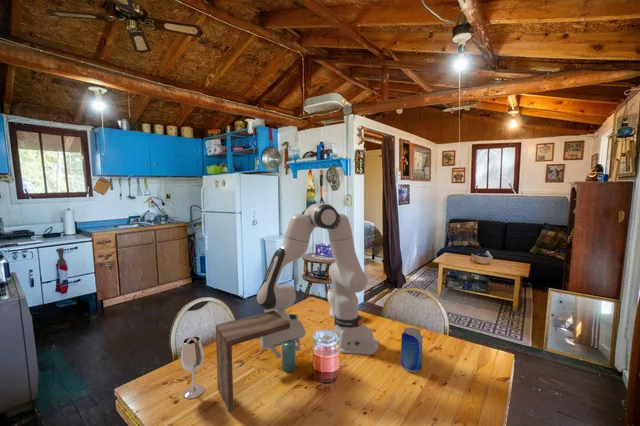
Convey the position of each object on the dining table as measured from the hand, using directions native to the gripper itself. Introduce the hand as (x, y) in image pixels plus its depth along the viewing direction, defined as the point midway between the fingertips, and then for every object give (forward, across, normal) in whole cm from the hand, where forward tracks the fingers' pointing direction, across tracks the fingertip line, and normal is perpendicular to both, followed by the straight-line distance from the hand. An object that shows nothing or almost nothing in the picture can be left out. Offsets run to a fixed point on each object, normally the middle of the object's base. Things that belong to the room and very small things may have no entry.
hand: (288, 353), depth 124 cm
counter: (+7, -17, +2) cm, 18 cm away
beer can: (+25, +43, -15) cm, 52 cm away
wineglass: (0, -36, +10) cm, 38 cm away
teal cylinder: (+4, 0, +5) cm, 6 cm away
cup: (-17, +48, +26) cm, 58 cm away
